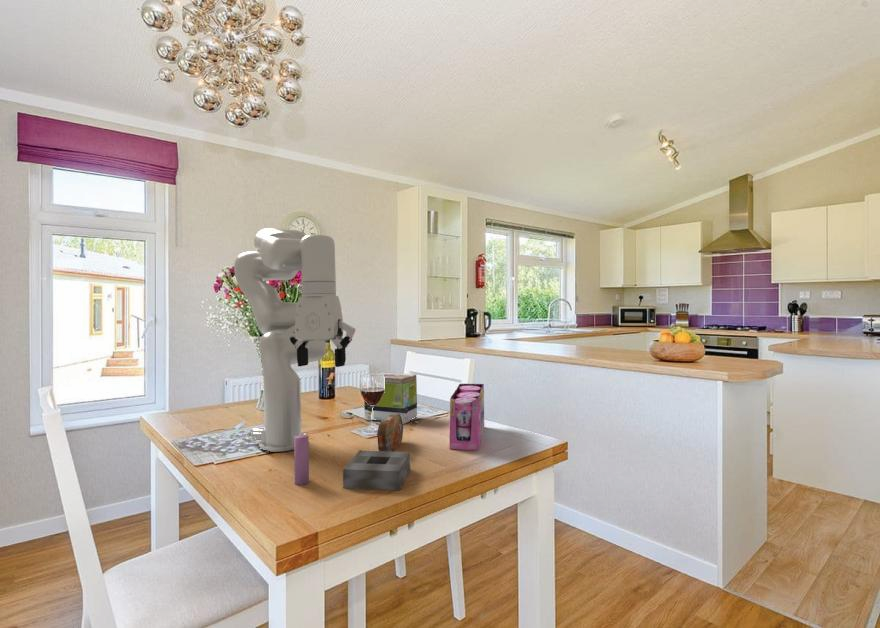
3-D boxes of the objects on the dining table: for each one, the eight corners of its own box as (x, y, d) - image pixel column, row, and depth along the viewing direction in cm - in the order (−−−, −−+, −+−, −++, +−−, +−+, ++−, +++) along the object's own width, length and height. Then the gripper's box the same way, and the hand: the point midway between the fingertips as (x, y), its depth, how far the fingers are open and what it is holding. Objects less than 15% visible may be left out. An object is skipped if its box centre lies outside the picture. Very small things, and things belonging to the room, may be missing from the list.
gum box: (478, 452, 118) (478, 400, 117) (448, 451, 119) (447, 399, 119) (484, 427, 141) (484, 383, 141) (459, 426, 143) (459, 383, 142)
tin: (387, 458, 114) (387, 425, 113) (375, 458, 114) (375, 424, 114) (404, 440, 128) (403, 410, 128) (393, 440, 129) (393, 410, 129)
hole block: (343, 487, 96) (342, 469, 96) (360, 467, 108) (360, 450, 108) (399, 490, 95) (398, 471, 95) (410, 469, 107) (409, 452, 106)
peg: (292, 484, 98) (291, 438, 98) (298, 479, 101) (297, 434, 101) (305, 485, 98) (304, 439, 97) (311, 479, 101) (310, 434, 100)
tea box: (418, 417, 154) (417, 373, 153) (403, 425, 144) (403, 378, 144) (379, 413, 160) (379, 371, 159) (363, 420, 151) (362, 375, 150)
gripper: (276, 291, 103) (278, 367, 103) (344, 288, 97) (346, 368, 97) (296, 292, 110) (298, 363, 110) (361, 289, 104) (363, 364, 105)
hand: (321, 365), depth 104 cm, fingers open, 9 cm apart
